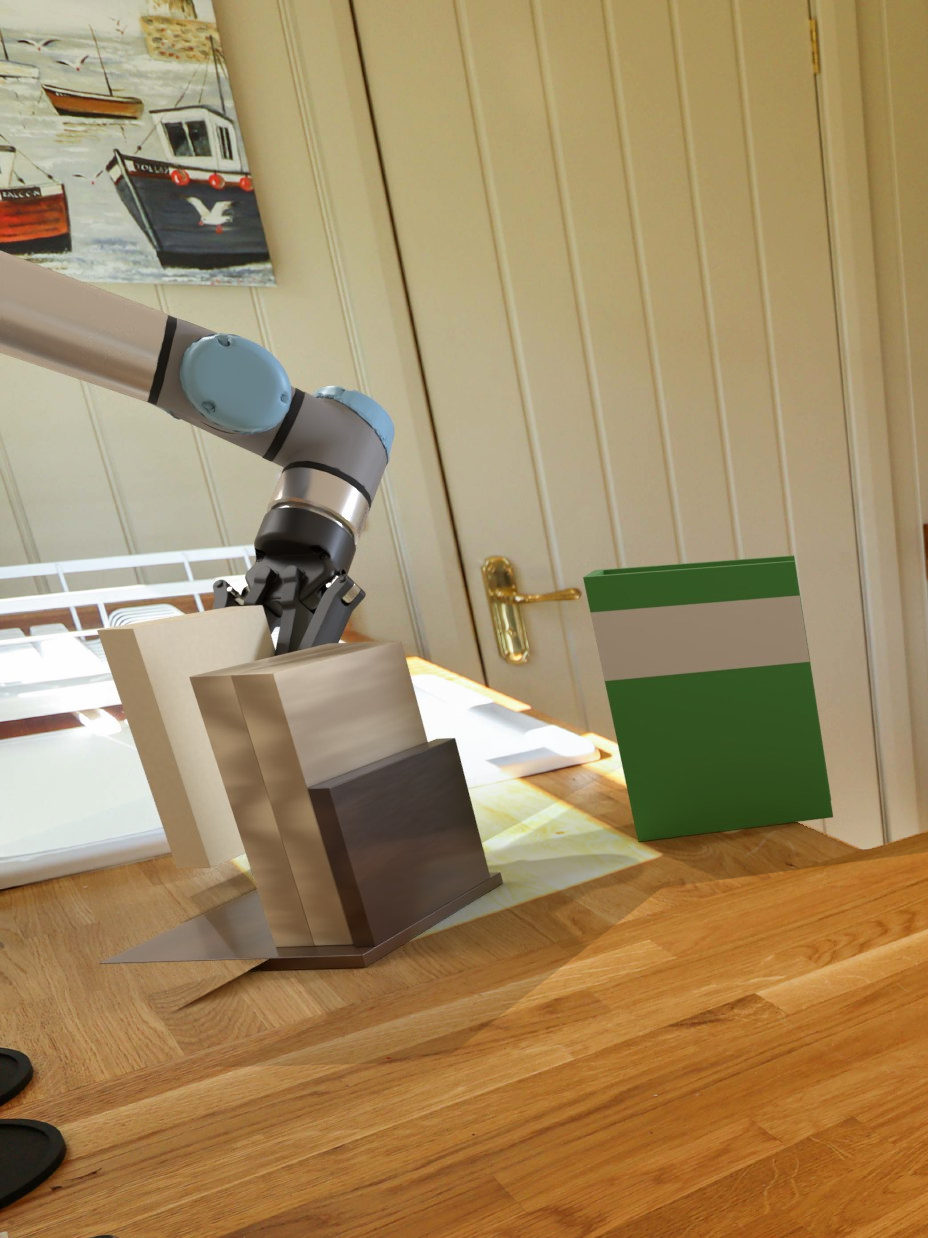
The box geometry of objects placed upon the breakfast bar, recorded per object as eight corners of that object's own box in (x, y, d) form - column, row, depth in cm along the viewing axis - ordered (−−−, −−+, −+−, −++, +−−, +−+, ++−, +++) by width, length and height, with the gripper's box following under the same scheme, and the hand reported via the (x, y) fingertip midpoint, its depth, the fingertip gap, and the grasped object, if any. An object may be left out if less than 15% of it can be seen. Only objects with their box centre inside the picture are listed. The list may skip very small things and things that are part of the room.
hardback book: (831, 798, 128) (794, 555, 120) (833, 817, 122) (794, 561, 113) (646, 820, 124) (594, 569, 116) (638, 841, 117) (583, 577, 109)
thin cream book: (176, 869, 106) (96, 629, 100) (294, 821, 120) (230, 606, 113) (210, 868, 106) (132, 628, 99) (324, 820, 119) (262, 605, 113)
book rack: (102, 975, 92) (-5, 689, 85) (279, 890, 109) (202, 645, 102) (365, 967, 91) (279, 677, 84) (503, 882, 108) (441, 634, 101)
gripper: (417, 552, 124) (350, 759, 114) (260, 559, 125) (180, 765, 115) (367, 499, 117) (291, 713, 107) (201, 506, 118) (111, 720, 108)
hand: (233, 740), depth 111 cm, fingers closed on thin cream book, 3 cm apart
